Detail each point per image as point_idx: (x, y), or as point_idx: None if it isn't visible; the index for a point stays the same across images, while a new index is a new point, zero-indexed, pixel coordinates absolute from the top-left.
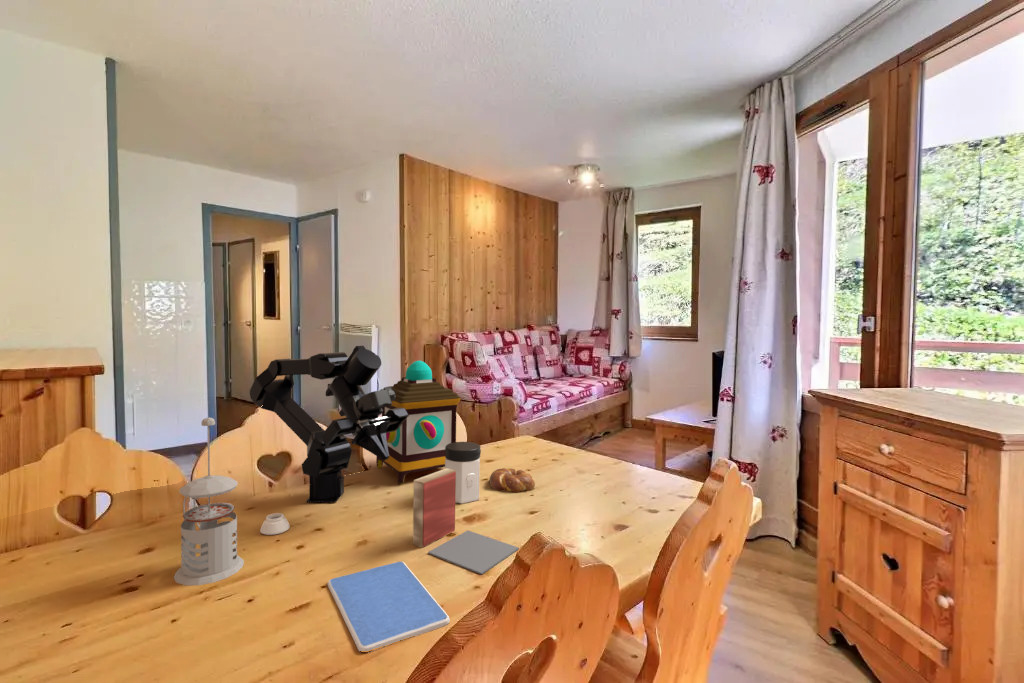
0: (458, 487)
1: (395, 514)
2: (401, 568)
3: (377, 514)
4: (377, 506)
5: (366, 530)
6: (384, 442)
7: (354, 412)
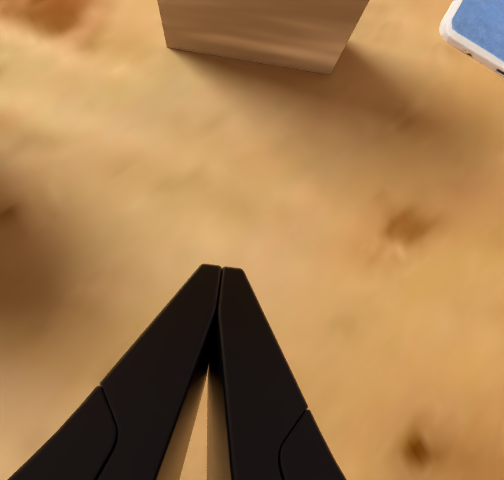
0: None
1: (159, 288)
2: (480, 1)
3: None
4: None
5: (331, 283)
6: (154, 385)
7: None
